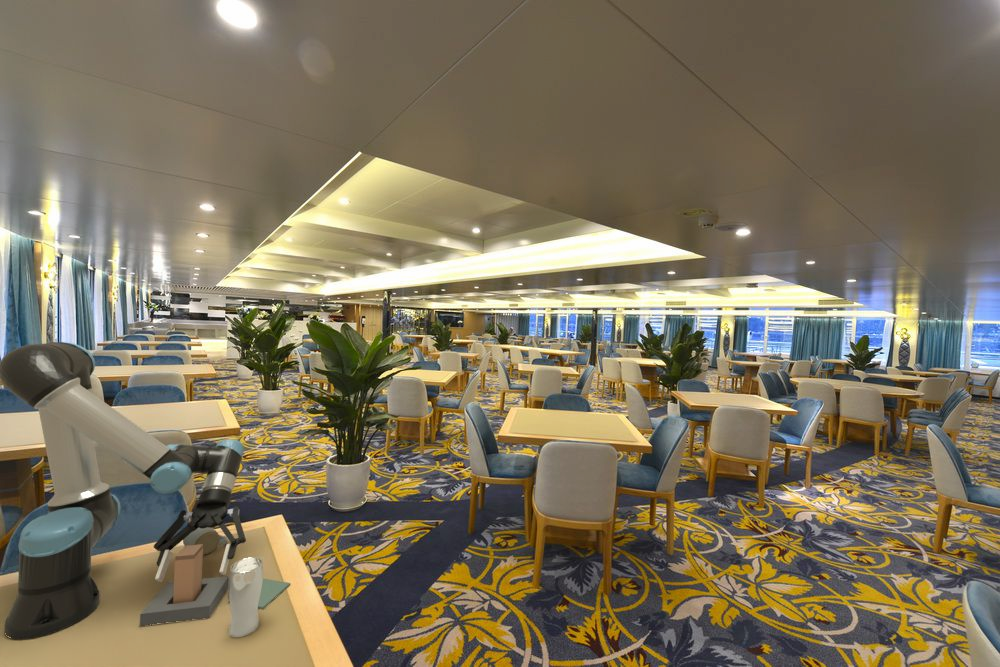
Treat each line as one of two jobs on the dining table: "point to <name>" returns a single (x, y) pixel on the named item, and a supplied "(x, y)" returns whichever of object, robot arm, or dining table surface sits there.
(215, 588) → the socket block
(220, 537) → the ceramic mug
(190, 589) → the brown tall block
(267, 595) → the mat
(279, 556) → the dining table surface
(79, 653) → the dining table surface
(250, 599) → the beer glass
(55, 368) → the robot arm
